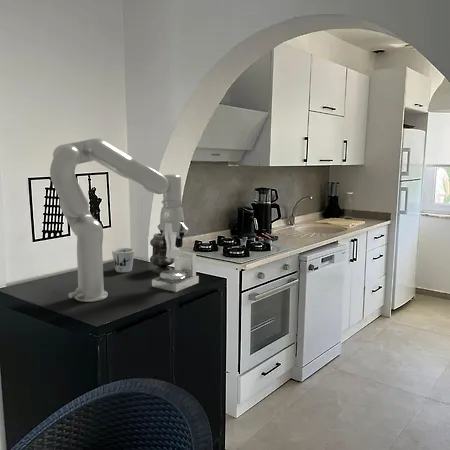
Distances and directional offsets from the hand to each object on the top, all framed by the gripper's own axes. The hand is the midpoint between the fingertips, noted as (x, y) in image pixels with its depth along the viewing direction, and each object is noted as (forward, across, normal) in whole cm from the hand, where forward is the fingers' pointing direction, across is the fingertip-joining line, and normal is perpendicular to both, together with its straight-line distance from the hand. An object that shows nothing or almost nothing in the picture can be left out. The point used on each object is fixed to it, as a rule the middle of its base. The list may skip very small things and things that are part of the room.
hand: (172, 245), depth 195 cm
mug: (+18, -36, +8) cm, 41 cm away
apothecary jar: (+18, -19, +16) cm, 31 cm away
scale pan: (+13, 0, +1) cm, 13 cm away
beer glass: (+5, 0, 0) cm, 5 cm away
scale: (+18, 0, +2) cm, 18 cm away
